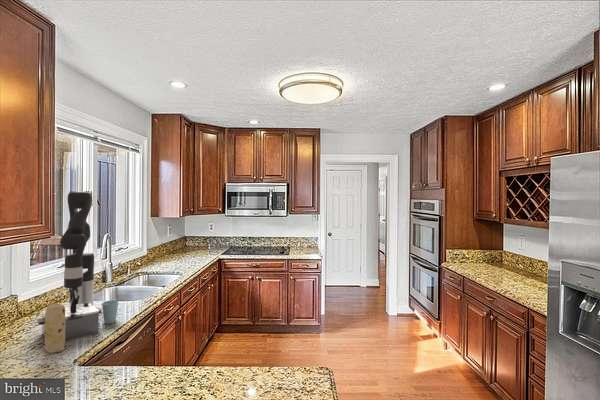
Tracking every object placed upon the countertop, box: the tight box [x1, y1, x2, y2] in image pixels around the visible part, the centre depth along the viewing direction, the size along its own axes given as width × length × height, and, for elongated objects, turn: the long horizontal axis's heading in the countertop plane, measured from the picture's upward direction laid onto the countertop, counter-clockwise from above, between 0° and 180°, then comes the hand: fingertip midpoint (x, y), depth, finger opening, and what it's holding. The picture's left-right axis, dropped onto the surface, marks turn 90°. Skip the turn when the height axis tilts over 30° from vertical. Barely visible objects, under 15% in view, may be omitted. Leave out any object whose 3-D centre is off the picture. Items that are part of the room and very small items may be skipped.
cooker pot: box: [36, 307, 103, 342], centre depth 171 cm, size 18×26×10 cm
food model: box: [44, 302, 66, 354], centre depth 152 cm, size 10×7×20 cm
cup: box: [101, 299, 119, 324], centre depth 188 cm, size 8×8×10 cm
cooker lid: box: [41, 302, 100, 320], centre depth 170 cm, size 21×20×2 cm
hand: (73, 312), depth 167 cm, fingers closed
